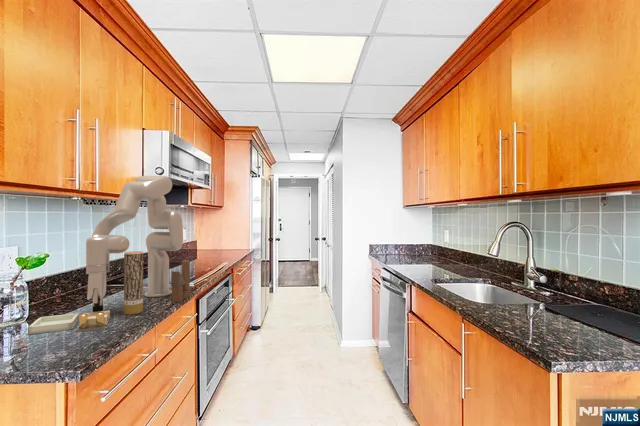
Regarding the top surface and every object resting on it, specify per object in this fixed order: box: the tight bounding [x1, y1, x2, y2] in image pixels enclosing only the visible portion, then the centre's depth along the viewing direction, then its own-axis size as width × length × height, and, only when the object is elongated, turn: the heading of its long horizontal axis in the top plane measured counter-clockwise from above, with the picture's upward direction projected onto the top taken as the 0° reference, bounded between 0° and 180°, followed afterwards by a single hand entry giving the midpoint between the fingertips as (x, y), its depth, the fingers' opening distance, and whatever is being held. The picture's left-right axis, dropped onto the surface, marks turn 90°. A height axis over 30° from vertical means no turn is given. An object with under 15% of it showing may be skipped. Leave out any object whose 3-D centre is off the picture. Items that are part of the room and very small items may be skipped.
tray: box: [27, 312, 81, 336], centre depth 118 cm, size 12×12×2 cm
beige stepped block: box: [84, 310, 111, 326], centre depth 122 cm, size 9×8×4 cm
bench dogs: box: [75, 312, 106, 333], centre depth 116 cm, size 4×8×5 cm, turn 116°
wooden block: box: [171, 259, 192, 303], centre depth 156 cm, size 4×11×18 cm, turn 173°
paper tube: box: [123, 250, 144, 316], centre depth 134 cm, size 7×7×25 cm
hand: (98, 315), depth 128 cm, fingers closed
